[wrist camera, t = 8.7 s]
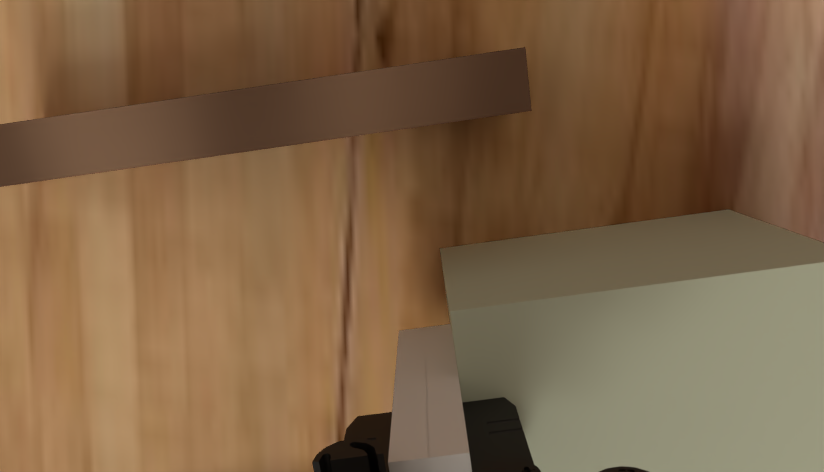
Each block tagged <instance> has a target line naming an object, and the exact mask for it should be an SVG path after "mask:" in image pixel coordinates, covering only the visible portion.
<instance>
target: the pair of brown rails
mask: <svg viewBox="0 0 824 472" xmlns="http://www.w3.org/2000/svg"><path fill="white" fill-rule="evenodd" d="M526 111H532V110H531V100H530V90H529V80H528V70H527V60H526V50H525V47H524V48H517V49H511V50H504V51H497V52H490V53H483V54H476V55H470V56H463V57H456V58H449V59H442V60H436V61H429V62H422V63H415V64H408V65H402V66H395V67H388V68H381V69H374V70H368V71H361V72H354V73H347V74H340V75H334V76H327V77H320V78H313V79H306V80H300V81H293V82H286V83H279V84H272V85H265V86H259V87H252V88H245V89H238V90H231V91H225V92H218V93H211V94H204V95H197V96H191V97H184V98H177V99H170V100H163V101H157V102H150V103H143V104H136V105H129V106H123V107H116V108H109V109H102V110H95V111H88V112H82V113H75V114H68V115H61V116H54V117H48V118H41V119H34V120H27V121H20V122H14V123H7V124H0V187H2V186H9V185H16V184H23V183H30V182H37V181H44V180H51V179H58V178H65V177H72V176H79V175H86V174H93V173H100V172H107V171H114V170H121V169H128V168H135V167H142V166H149V165H156V164H163V163H170V162H177V161H184V160H191V159H198V158H205V157H212V156H219V155H226V154H233V153H240V152H247V151H254V150H261V149H267V148H274V147H281V146H288V145H295V144H302V143H309V142H316V141H323V140H330V139H337V138H344V137H351V136H358V135H365V134H372V133H379V132H386V131H393V130H400V129H407V128H414V127H421V126H428V125H435V124H442V123H449V122H456V121H463V120H470V119H477V118H484V117H491V116H498V115H505V114H512V113H519V112H526Z"/></svg>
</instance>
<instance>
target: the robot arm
mask: <svg viewBox="0 0 824 472" xmlns="http://www.w3.org/2000/svg"><path fill="white" fill-rule="evenodd" d="M312 463H313V468H314V472H541V471H540V469H539V468H538V467H537V466H535V465H534V462H533V459H532V456H531V453H530V450H529V447H528V443H527V440H526V437H525V434H524V431H523V428H522V425H521V421H520V419H519V415H518V412H517V409H516V406H515V405H514V404H513V403H511V402H510V401H509V400H507V399H506V398H505V397H501V398H493V399H485V400H478V401H470V402H462V398H461V391H460V384H459V377H458V370H457V363H456V357H455V350H454V343H453V336H452V330H451V324H446V325H438V326H431V327H423V328H415V329H408V330H400V331H399V335H398V347H397V359H396V371H395V383H394V396H393V408H392V412H389V413H381V414H373V415H365V416H358V417H357V418H356V419H355V420H354V421H353V422H352V423H351V424H350V425H349V427H348V428H347V429H346V434H345V438H344V441H339V442H337V443H334V444H332V445H330V446H328V447H326V448H325V449H323V450H322V451H321V452H319V453H318V454H317V455H316V457H315V459H314V460H313V462H312ZM599 472H649V471H646V470H642V469H639V468H636V467H626V466H619V467H612V468H606V469H604V470H602V471H599Z"/></svg>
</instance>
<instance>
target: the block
mask: <svg viewBox="0 0 824 472" xmlns="http://www.w3.org/2000/svg"><path fill="white" fill-rule="evenodd" d="M440 254H441V261H442V268H443V276H444V283H445V291H446V298H447V305H448V313H449V320H450V324H451V330H452V336H453V343H454V350H455V357H456V363H457V370H458V377H459V384H460V391H461V398H462V402H470V401H478V400H485V399H493V398H501V397H505V398H506V399H507V400H509V401H510V402H511V403H513V404H514V405H515V406H516V409H517V412H518V415H519V419H520V421H521V425H522V428H523V431H524V434H525V437H526V440H527V443H528V447H529V450H530V453H531V456H532V459H533V462H534V465H535V466H537V467H538V468H539V469H540V471H541V472H599V471H602V470H604V469H606V468H612V467H619V466H626V467H636V468H639V469H642V470H646V471H649V472H824V243H823V242H820V241H818V240H815V239H812V238H809V237H806V236H803V235H800V234H798V233H795V232H792V231H789V230H786V229H783V228H780V227H778V226H775V225H772V224H769V223H766V222H763V221H761V220H758V219H755V218H752V217H749V216H746V215H743V214H741V213H738V212H735V211H732V210H729V209H727V210H720V211H713V212H705V213H698V214H691V215H683V216H676V217H668V218H661V219H654V220H646V221H639V222H631V223H624V224H617V225H609V226H602V227H594V228H587V229H580V230H572V231H565V232H558V233H550V234H543V235H535V236H528V237H521V238H513V239H506V240H498V241H491V242H484V243H476V244H469V245H461V246H454V247H447V248H440Z"/></svg>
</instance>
